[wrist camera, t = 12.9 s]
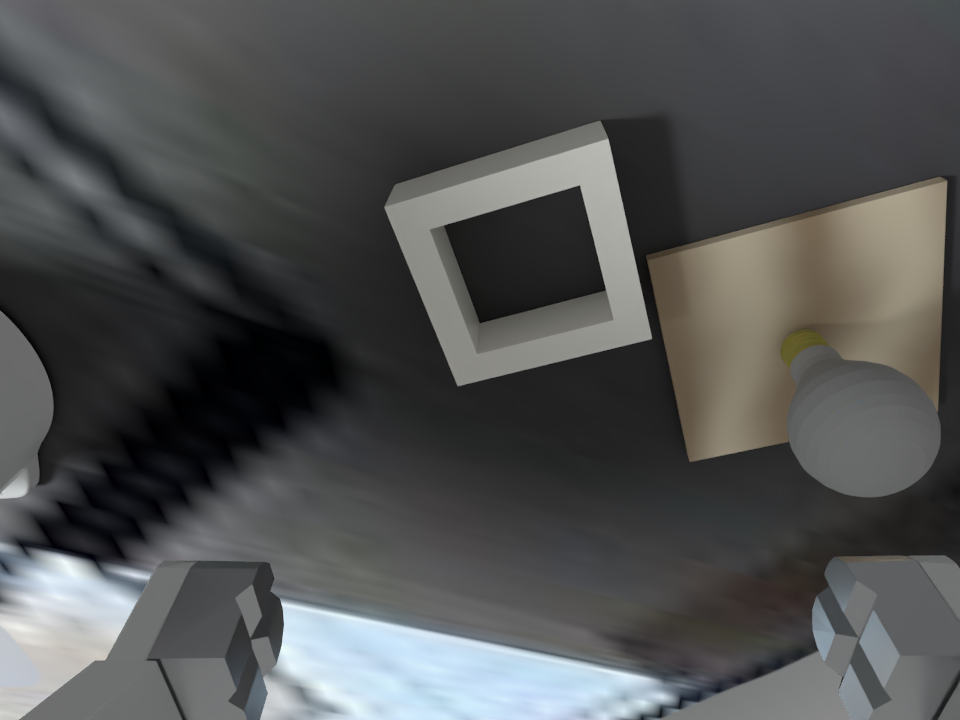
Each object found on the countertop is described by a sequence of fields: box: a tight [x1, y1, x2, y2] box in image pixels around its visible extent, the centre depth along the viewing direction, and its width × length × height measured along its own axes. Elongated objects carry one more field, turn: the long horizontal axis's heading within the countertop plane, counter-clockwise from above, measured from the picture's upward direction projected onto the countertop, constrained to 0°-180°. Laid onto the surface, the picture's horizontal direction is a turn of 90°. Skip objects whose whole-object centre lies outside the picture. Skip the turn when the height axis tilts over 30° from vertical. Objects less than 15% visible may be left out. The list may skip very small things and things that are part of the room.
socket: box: [384, 121, 652, 386], centre depth 31 cm, size 10×10×3 cm
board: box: [646, 177, 947, 462], centre depth 34 cm, size 13×13×1 cm
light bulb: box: [780, 329, 941, 497], centre depth 30 cm, size 6×6×10 cm
